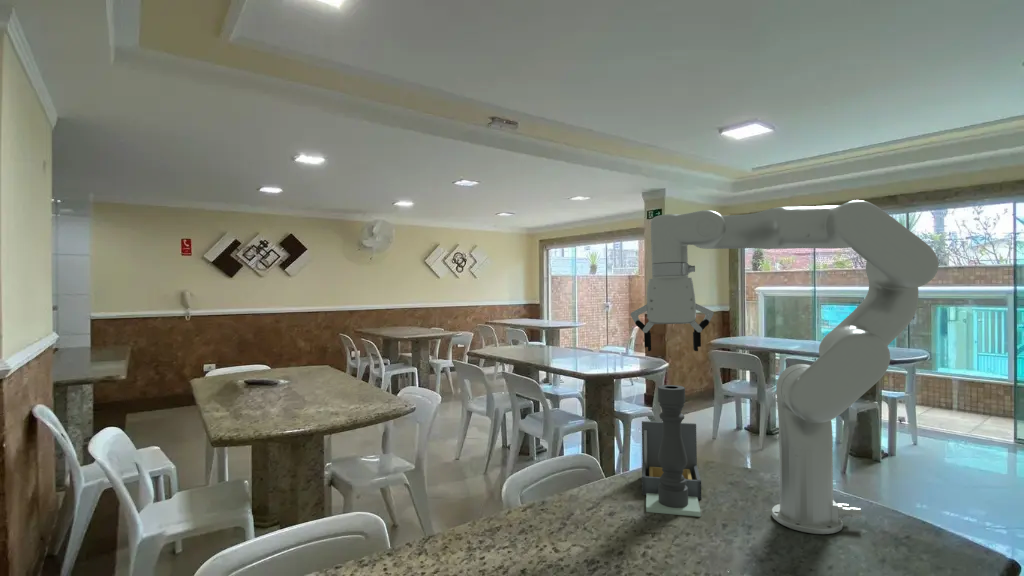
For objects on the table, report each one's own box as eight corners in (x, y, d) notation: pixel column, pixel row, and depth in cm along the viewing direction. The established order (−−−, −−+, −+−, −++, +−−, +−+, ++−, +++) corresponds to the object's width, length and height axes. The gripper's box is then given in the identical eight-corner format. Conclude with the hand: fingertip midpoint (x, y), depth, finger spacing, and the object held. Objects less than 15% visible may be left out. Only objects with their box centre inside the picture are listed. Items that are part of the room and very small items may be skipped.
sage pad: (697, 501, 118) (697, 497, 118) (700, 516, 110) (700, 511, 110) (646, 497, 121) (646, 492, 121) (646, 511, 113) (646, 507, 113)
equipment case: (696, 480, 131) (695, 423, 131) (701, 499, 119) (700, 437, 119) (642, 476, 134) (641, 421, 134) (642, 494, 123) (641, 433, 123)
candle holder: (693, 501, 116) (691, 386, 116) (680, 510, 111) (678, 391, 111) (666, 494, 120) (664, 383, 120) (653, 502, 115) (651, 387, 115)
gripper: (710, 270, 117) (712, 348, 117) (629, 273, 121) (632, 348, 121) (714, 269, 110) (716, 352, 110) (628, 273, 114) (631, 352, 114)
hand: (672, 350), depth 115 cm, fingers open, 9 cm apart
